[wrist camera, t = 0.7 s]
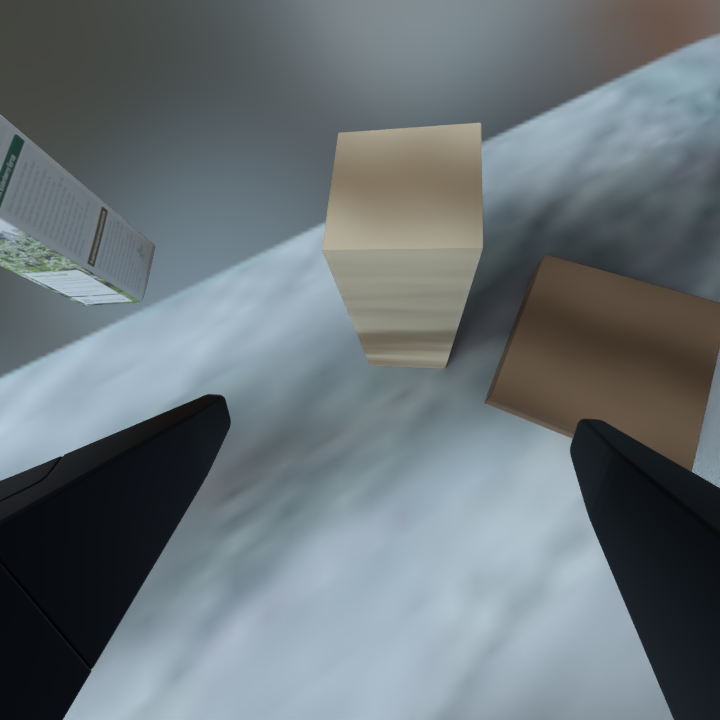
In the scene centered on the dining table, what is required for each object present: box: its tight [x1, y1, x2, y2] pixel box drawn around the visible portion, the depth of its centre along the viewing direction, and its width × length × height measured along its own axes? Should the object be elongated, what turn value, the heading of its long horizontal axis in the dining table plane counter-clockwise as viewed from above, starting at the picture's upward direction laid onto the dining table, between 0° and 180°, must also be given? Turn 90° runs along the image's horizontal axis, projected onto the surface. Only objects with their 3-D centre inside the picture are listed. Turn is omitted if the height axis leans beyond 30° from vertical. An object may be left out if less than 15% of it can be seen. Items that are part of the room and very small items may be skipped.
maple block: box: [322, 123, 483, 368], centre depth 17 cm, size 5×5×13 cm
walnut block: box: [484, 254, 720, 472], centre depth 21 cm, size 10×10×2 cm
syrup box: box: [0, 115, 155, 306], centre depth 22 cm, size 6×6×14 cm
